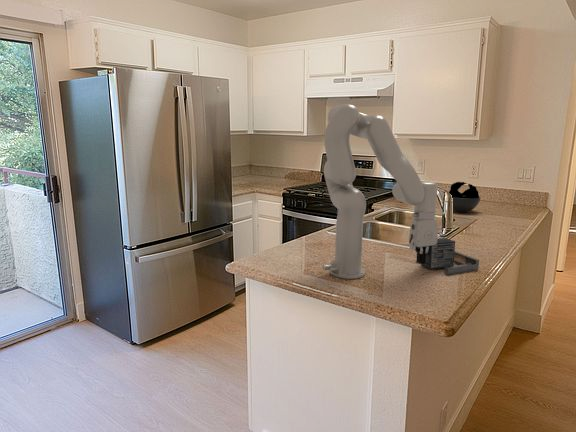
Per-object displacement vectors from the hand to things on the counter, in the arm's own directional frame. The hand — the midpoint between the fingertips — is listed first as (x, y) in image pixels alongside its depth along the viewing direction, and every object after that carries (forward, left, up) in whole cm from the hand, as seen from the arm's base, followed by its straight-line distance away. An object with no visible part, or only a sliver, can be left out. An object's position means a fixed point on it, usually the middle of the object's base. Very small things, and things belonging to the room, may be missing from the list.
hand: (420, 262), depth 159 cm
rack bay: (+13, 0, -3) cm, 13 cm away
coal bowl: (+99, +77, -3) cm, 126 cm away
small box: (+9, 0, -3) cm, 9 cm away
